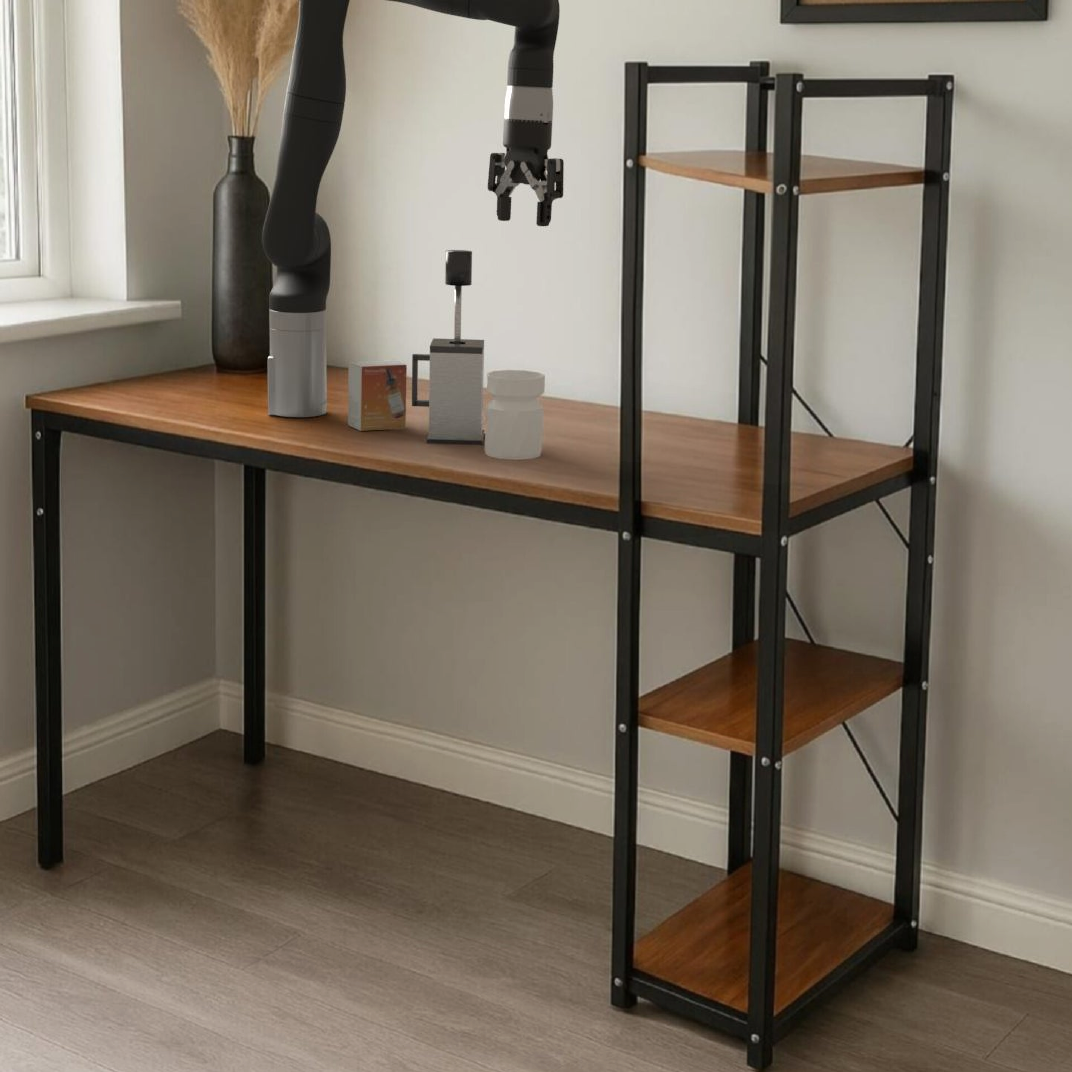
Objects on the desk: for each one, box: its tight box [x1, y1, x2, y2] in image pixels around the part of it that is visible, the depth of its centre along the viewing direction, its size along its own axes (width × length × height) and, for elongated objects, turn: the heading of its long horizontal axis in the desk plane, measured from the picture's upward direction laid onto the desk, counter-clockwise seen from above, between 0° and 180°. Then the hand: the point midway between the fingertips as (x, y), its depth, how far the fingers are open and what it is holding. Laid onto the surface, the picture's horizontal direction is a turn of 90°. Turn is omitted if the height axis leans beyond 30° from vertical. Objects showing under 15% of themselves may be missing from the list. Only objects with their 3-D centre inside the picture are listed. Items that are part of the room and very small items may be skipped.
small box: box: [347, 359, 408, 432], centre depth 268 cm, size 8×6×10 cm
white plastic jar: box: [484, 369, 546, 461], centre depth 252 cm, size 9×9×12 cm
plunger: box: [444, 249, 473, 344], centre depth 258 cm, size 5×5×21 cm
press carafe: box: [411, 338, 485, 446], centre depth 261 cm, size 11×9×15 cm
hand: (523, 223), depth 264 cm, fingers open, 8 cm apart
